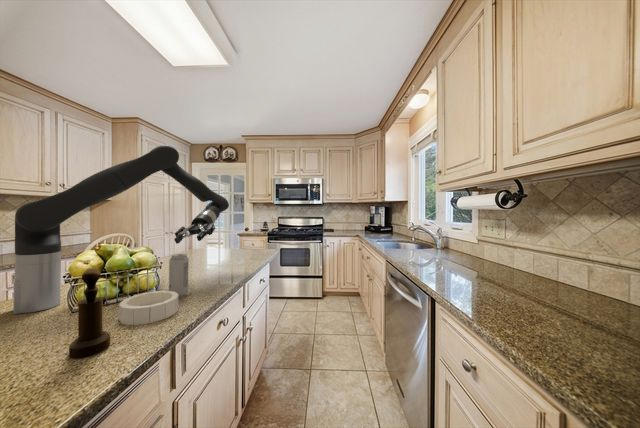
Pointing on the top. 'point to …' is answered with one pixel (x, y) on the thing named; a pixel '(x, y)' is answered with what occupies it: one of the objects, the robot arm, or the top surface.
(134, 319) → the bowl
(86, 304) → the dark brown wooden stand
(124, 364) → the top surface
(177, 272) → the energy drink can
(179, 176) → the robot arm
